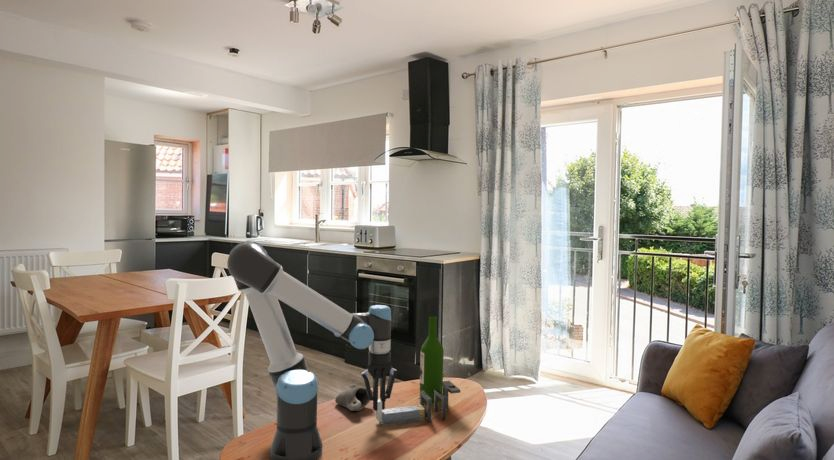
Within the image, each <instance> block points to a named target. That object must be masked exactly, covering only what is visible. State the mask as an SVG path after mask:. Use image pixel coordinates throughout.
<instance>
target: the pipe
mask: <svg viewBox="0 0 834 460" xmlns="http://www.w3.org/2000/svg"><path fill="white" fill-rule="evenodd" d="M371 392H372V396H373V389H371ZM334 399H335V400H334V401H335V403H336V404H337V405H339V406H342V407H344V408H346V409H348V410H350V411H351V412H353V411H354V412H359V411H362V410H363V409H364V408H365V407H366V406H367V405H368V404H369V403H370V402H371V401H370V400H369V398H368V396H367V392H366V387H365V386H359V385H358V384H356V383H351V384H350V385H349V386H348V387H347V388H346V389H345V390H343V391H341V392H340V393H339V394H337V396H335V398H334Z"/></svg>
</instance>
